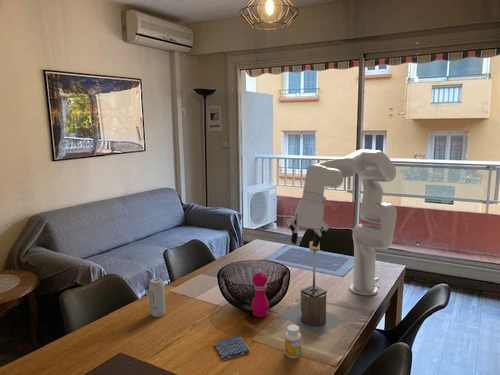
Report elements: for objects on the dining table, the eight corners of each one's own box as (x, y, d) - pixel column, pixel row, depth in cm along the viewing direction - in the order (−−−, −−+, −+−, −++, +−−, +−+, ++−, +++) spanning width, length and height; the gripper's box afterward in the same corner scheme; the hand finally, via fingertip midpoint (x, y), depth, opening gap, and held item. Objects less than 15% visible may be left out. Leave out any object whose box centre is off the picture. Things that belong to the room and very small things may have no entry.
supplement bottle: (283, 349, 135) (283, 323, 134) (299, 348, 136) (299, 323, 134) (286, 359, 130) (286, 332, 128) (302, 358, 130) (302, 331, 129)
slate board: (304, 303, 168) (304, 301, 168) (346, 323, 152) (346, 320, 152) (277, 316, 158) (277, 313, 158) (319, 338, 142) (319, 335, 141)
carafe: (309, 310, 160) (310, 282, 158) (331, 320, 152) (332, 291, 150) (293, 318, 154) (293, 289, 152) (314, 329, 146) (315, 298, 144)
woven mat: (223, 362, 129) (223, 357, 129) (213, 346, 139) (213, 340, 139) (251, 355, 133) (251, 349, 133) (240, 339, 143) (240, 334, 143)
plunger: (312, 287, 156) (313, 238, 152) (327, 293, 150) (328, 242, 147) (300, 293, 151) (301, 242, 148) (314, 299, 146) (315, 246, 142)
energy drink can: (147, 314, 161) (145, 280, 159) (160, 309, 165) (158, 276, 163) (156, 319, 157) (154, 284, 154) (168, 314, 161) (166, 280, 159)
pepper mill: (267, 320, 155) (267, 273, 151) (249, 319, 156) (249, 272, 153) (270, 312, 162) (270, 266, 158) (253, 310, 163) (252, 265, 160)
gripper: (329, 201, 149) (321, 246, 149) (287, 193, 145) (279, 240, 145) (338, 202, 142) (330, 250, 141) (293, 194, 138) (285, 243, 137)
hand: (304, 244), depth 143 cm, fingers open, 7 cm apart
